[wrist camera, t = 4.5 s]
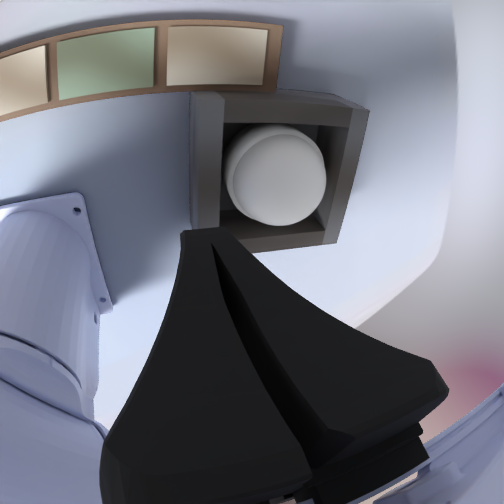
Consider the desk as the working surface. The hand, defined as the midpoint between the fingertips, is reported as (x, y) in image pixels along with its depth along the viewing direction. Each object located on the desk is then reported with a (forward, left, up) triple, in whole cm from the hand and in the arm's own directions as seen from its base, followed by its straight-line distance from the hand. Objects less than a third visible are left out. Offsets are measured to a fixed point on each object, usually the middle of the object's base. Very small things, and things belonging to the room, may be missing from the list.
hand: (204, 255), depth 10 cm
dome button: (0, -5, -8) cm, 9 cm away
